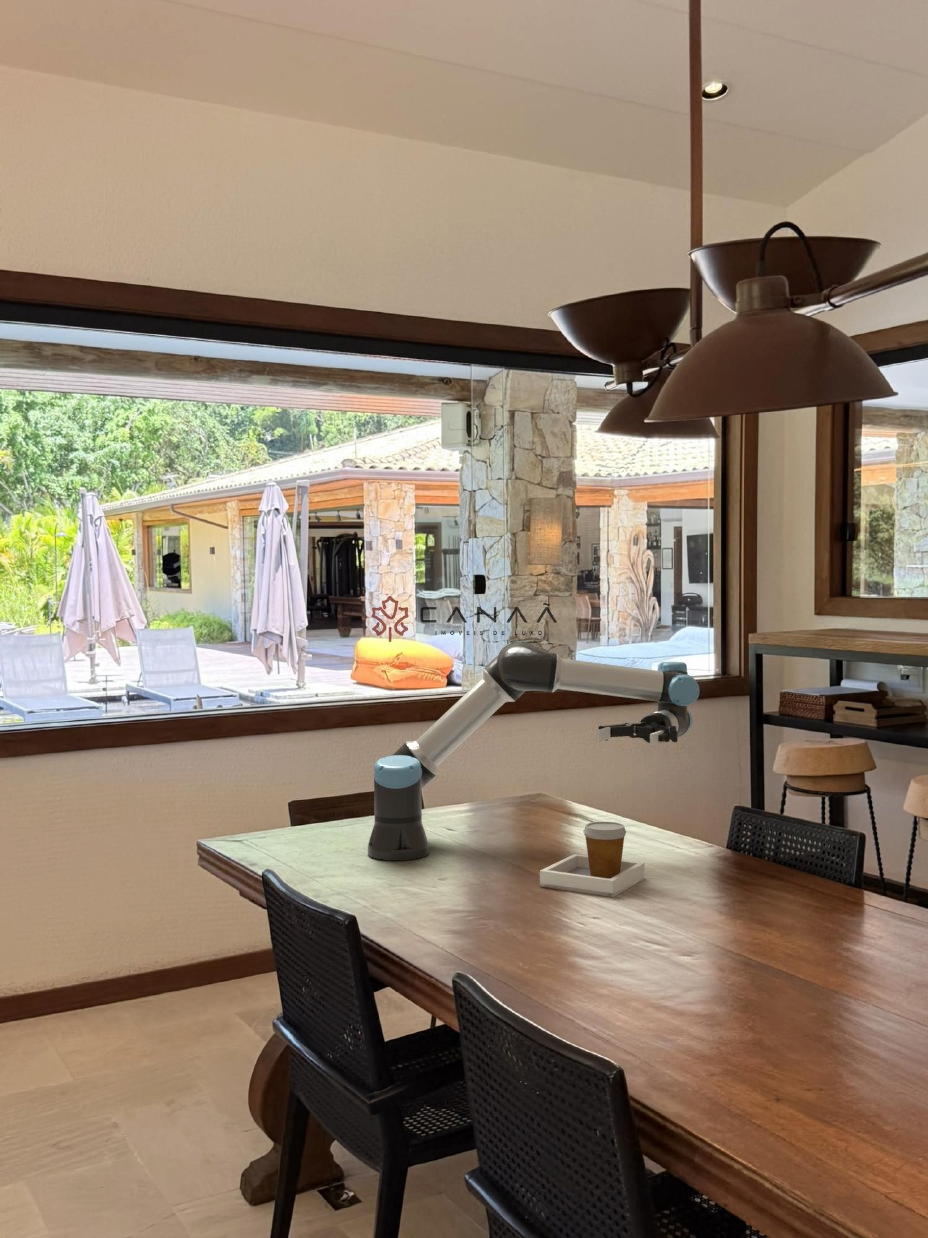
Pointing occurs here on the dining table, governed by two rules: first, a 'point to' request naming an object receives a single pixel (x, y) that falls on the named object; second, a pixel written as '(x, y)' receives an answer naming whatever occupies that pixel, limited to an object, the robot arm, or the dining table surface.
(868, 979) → the dining table surface
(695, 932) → the dining table surface
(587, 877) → the square well
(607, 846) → the disposable coffee cup
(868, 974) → the dining table surface
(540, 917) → the dining table surface
